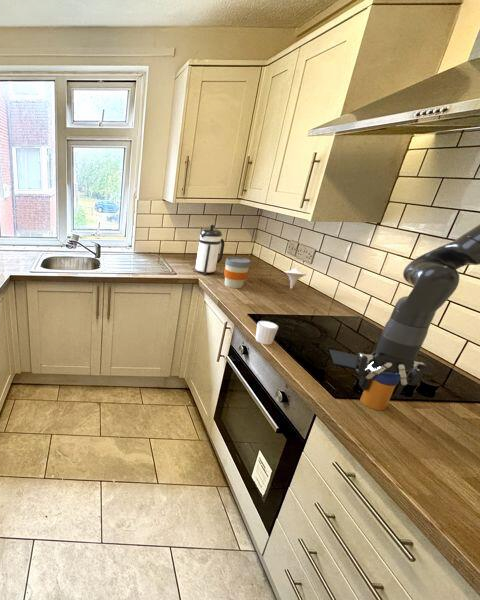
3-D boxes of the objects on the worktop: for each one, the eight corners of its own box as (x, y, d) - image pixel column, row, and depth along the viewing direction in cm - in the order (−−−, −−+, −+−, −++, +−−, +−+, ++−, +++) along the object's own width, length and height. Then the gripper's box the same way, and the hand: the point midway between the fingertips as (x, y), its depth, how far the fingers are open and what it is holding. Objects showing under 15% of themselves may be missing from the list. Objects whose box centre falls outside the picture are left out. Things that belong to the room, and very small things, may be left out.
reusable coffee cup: (234, 281, 185) (239, 256, 180) (250, 288, 174) (256, 261, 169) (216, 282, 182) (221, 257, 177) (231, 290, 171) (236, 263, 165)
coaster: (329, 350, 114) (329, 349, 114) (364, 358, 109) (365, 356, 109) (333, 364, 106) (334, 363, 105) (372, 373, 101) (372, 371, 101)
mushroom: (278, 284, 180) (283, 264, 175) (300, 287, 176) (306, 266, 171) (281, 290, 171) (286, 269, 167) (304, 293, 167) (310, 271, 163)
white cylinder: (273, 347, 116) (278, 330, 113) (252, 342, 119) (256, 325, 116) (274, 339, 121) (279, 323, 118) (254, 334, 124) (258, 318, 122)
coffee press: (218, 277, 191) (227, 227, 180) (190, 273, 198) (198, 225, 186) (219, 270, 206) (228, 223, 195) (194, 266, 212) (201, 221, 201)
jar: (375, 397, 90) (387, 369, 86) (390, 410, 85) (404, 381, 82) (355, 396, 91) (366, 368, 87) (369, 409, 86) (382, 380, 82)
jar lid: (371, 380, 84) (373, 374, 83) (368, 369, 88) (370, 364, 88) (400, 388, 81) (403, 382, 80) (395, 377, 85) (398, 371, 85)
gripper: (374, 339, 79) (352, 393, 85) (449, 349, 74) (419, 406, 81) (361, 326, 85) (341, 377, 92) (428, 335, 81) (403, 388, 87)
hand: (378, 390), depth 86 cm, fingers open, 6 cm apart
